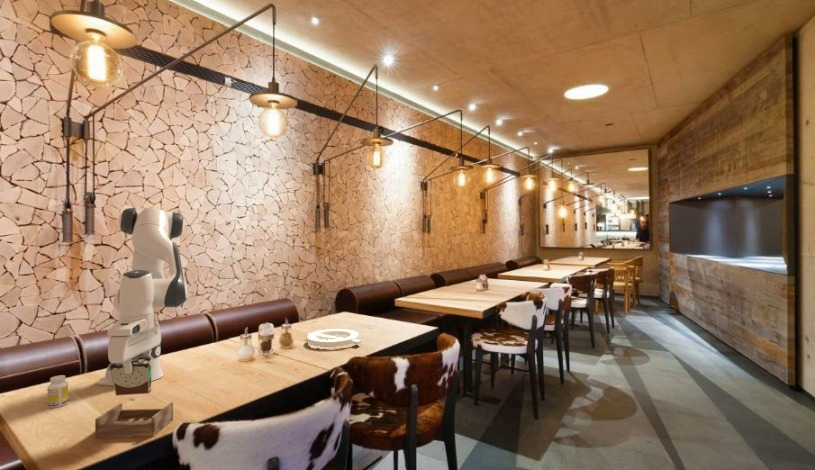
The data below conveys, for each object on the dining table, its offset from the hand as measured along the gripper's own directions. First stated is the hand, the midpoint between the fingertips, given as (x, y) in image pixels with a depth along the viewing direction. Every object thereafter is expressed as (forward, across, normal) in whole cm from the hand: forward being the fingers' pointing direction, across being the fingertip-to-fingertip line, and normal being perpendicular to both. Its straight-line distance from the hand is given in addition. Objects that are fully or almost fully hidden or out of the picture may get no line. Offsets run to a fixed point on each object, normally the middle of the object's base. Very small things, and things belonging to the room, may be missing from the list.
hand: (137, 368), depth 120 cm
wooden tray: (+18, 0, 0) cm, 18 cm away
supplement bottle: (+18, -19, -38) cm, 47 cm away
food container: (+7, -1, 0) cm, 7 cm away
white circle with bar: (+20, -94, +48) cm, 107 cm away
